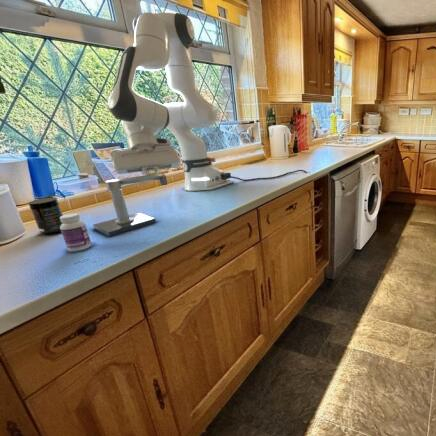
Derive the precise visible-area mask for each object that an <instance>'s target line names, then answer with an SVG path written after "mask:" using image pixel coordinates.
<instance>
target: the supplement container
mask: <svg viewBox="0 0 436 436" xmlns="http://www.w3.org/2000/svg"><path fill="white" fill-rule="evenodd" d="M28 206H29V208H30V211H31V213H32V216H33V218H34V221H35V224H36V226H37V228H38V231H39V233H40V234H41V235H43V236H51V235H57V234H60V233H62V232H61V229H60V226H61V224H63V223H62V222H61V220H60V217H61V216H63V215H64V213H63V212H62V209H61V206H60V202H59V201H58V198H57V197H46V198H44V197H43V198H39V199H35V200H32V201H28Z"/></svg>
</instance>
